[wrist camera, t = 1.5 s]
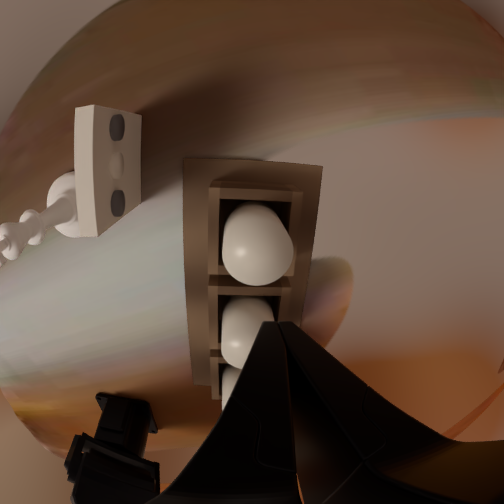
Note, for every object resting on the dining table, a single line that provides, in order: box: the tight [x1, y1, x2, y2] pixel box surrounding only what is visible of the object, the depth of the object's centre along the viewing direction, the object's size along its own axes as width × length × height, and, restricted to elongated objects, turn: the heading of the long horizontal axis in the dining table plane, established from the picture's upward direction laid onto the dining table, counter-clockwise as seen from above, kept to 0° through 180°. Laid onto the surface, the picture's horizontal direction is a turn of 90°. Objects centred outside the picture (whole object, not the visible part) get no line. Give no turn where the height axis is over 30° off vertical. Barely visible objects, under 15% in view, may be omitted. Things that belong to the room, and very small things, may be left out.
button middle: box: [221, 295, 274, 369], centre depth 18 cm, size 3×3×4 cm
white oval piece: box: [222, 201, 293, 286], centre depth 15 cm, size 3×3×4 cm
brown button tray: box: [183, 158, 323, 400], centre depth 20 cm, size 20×9×3 cm, turn 177°
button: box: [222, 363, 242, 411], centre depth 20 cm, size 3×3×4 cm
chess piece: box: [0, 171, 80, 267], centre depth 13 cm, size 5×5×10 cm
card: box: [74, 105, 142, 237], centre depth 14 cm, size 6×1×7 cm, turn 177°
